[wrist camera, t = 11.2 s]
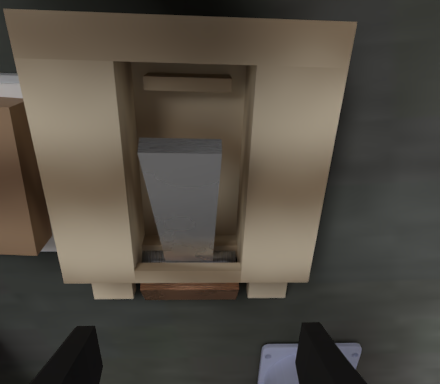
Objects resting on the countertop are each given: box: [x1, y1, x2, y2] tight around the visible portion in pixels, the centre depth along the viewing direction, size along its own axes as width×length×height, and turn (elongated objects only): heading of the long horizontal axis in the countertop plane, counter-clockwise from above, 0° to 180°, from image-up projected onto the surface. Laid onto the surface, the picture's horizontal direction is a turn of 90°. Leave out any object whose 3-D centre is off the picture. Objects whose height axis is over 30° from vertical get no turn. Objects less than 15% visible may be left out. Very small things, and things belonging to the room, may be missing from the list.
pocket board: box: [3, 9, 357, 299], centre depth 18 cm, size 17×13×4 cm
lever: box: [137, 138, 239, 300], centre depth 16 cm, size 15×6×2 cm
